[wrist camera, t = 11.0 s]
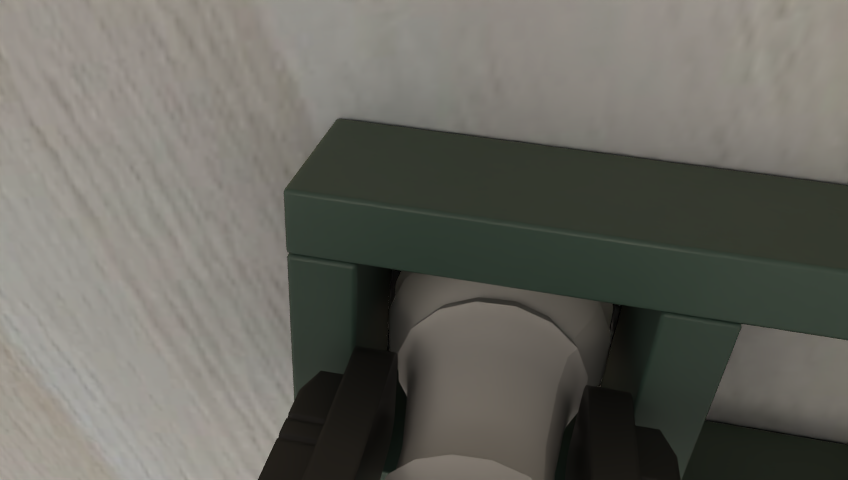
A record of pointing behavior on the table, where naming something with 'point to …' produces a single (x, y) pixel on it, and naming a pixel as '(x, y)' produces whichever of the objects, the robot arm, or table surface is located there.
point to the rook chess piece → (490, 376)
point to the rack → (576, 268)
